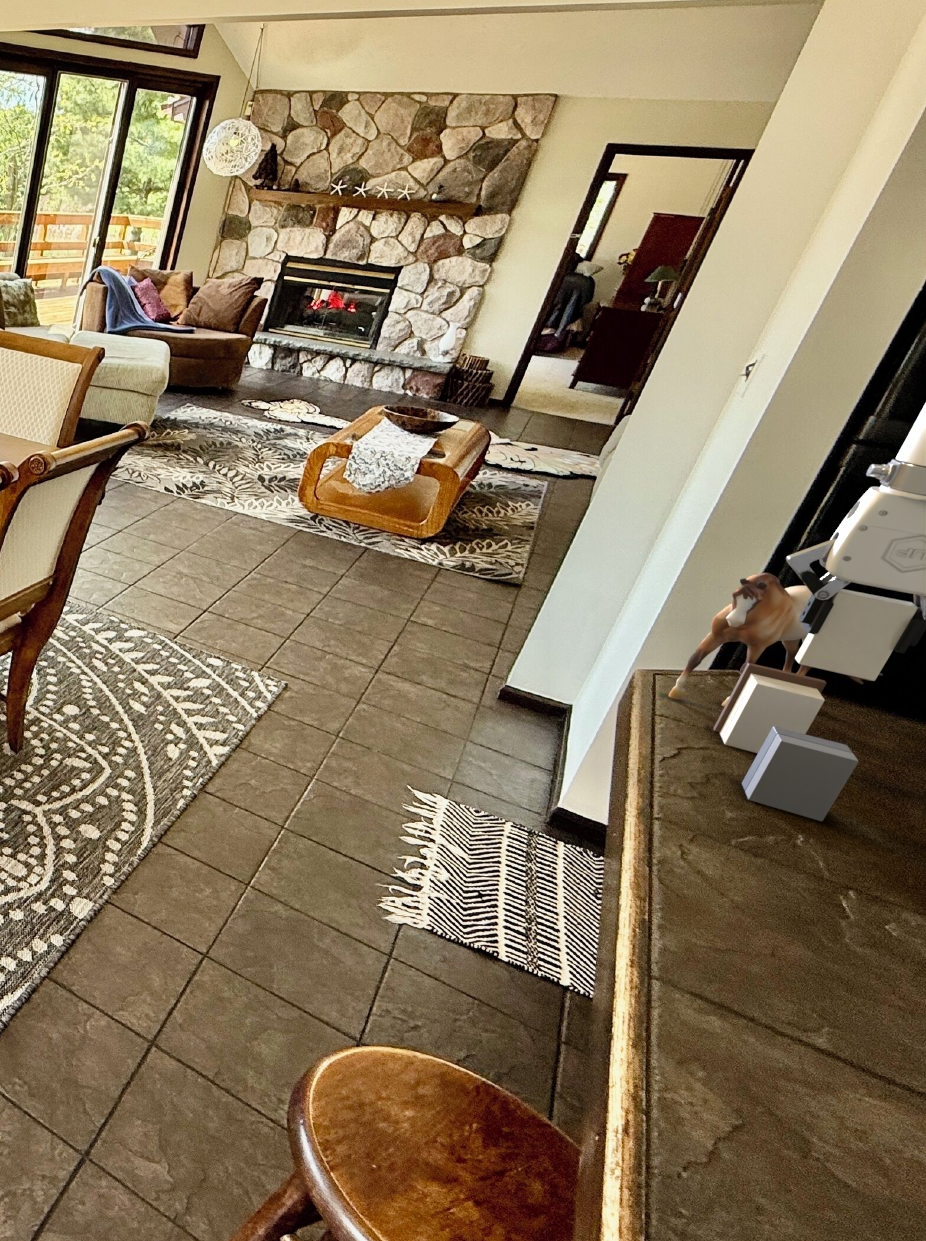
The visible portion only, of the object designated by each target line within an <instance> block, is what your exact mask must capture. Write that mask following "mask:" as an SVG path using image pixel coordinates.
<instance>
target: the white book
mask: <svg viewBox="0 0 926 1241" xmlns="http://www.w3.org/2000/svg"><path fill="white" fill-rule="evenodd" d="M831 602H832V603H834V605H833V607H832V609H831V611H830V613H829V615H828V616H827V618H826V620H825V622H824V624H823V625H822V627H821V629H820V631H819V632H818V634H816V633H815V634H810V633H808V635H807V637H806V639H805V640H804V642H803V641H802V644H801V646H800V647H799V651H798V653H797V655H796V657H795V659H796V660H795V661H796V662H797V663H798V664H799V665H801V664H802V665H806V666H810V667H812V668H815V669H819V670H824V671H827V672H833V673H837V674H841V675H846V676H848V675H850V676H854V677H859V678H863V679H867V680H872V681H873V682H875V681H876V680H877V678H878V676H880V675H879V673H881V671H882V670H883V668H884V666H885V664H886V663H887V661H888V659H889V658H890V656H891V654H892V652H893V651H894V650H893V649H894V647H895V646H896V644H897V642H898V641H899V639H900V637H901V635H902V634H903V632H904V630H905V629H906V627H907V625H908V624H909V622H910V620H911V619H912V617H913V616H914V614H915V612H916V611H917V609H918V607H917V606H916V605H914V602H912V601H907V600H902V599H896V598H891V597H885V596H880V595H875V594H869V593H865V592H859V591H855V590H850V589H844V588H843V589H841V590H840V591H838V592H837V593H836V594H834V595H833V598H832V599H831ZM867 680H866V681H867ZM872 681H871V682H872Z"/></svg>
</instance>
